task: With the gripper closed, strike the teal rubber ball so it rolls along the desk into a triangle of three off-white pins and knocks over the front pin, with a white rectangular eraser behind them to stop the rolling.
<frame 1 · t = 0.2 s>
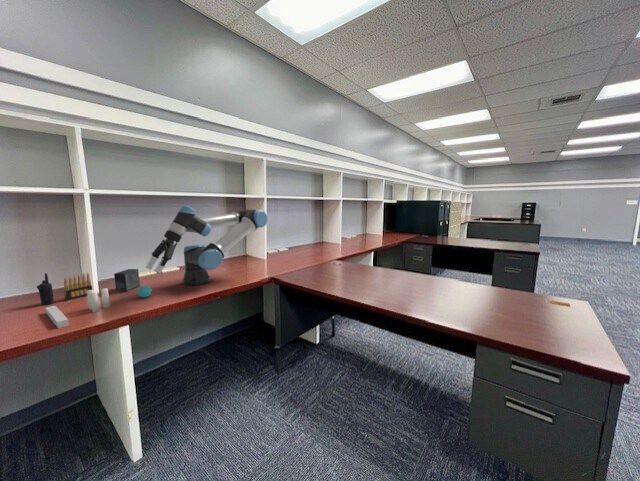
hand: (152, 270, 129), 15 cm above the table, tool tilted 35°, fingers open, 13 cm apart
two-way radio: (46, 304, 125), on the table
back right pin: (92, 308, 119), on the table
front pin: (106, 306, 121), on the table
ball: (144, 291, 134), on the table
white rectangular eraser: (56, 318, 108), on the table
back left pin: (95, 311, 116), on the table
small box: (128, 289, 148), on the table
ammunition clip: (79, 297, 134), on the table
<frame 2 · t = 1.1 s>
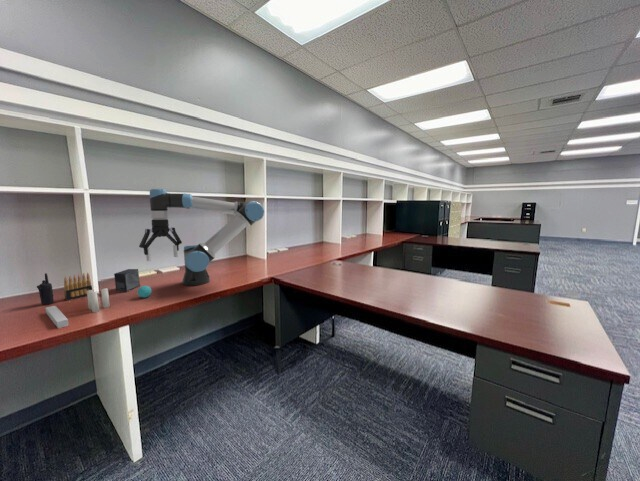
hand: (162, 258, 139), 19 cm above the table, tool pointing down, fingers open, 13 cm apart
nothing on the table moved.
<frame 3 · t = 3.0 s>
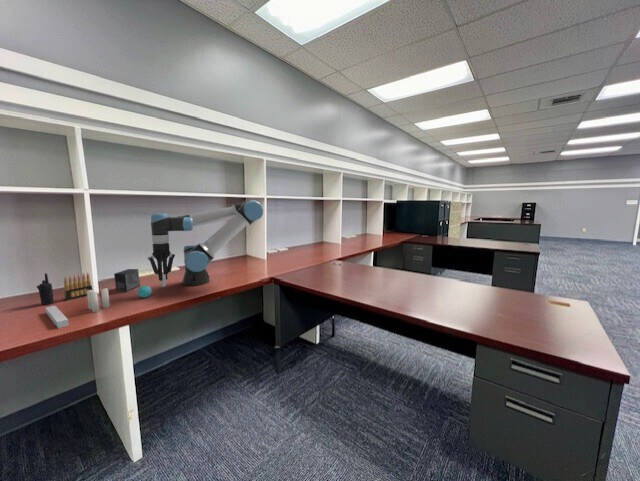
hand: (163, 285, 141), 4 cm above the table, tool pointing down, fingers closed
nothing on the table moved.
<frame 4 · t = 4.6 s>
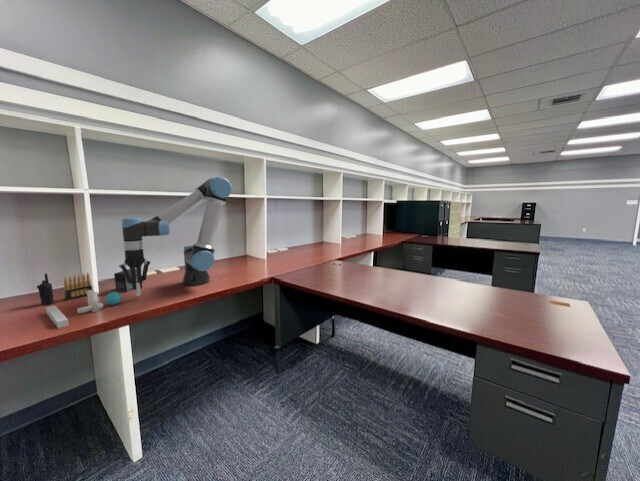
hand: (138, 295, 132), 2 cm above the table, tool pointing down, fingers closed
front pin: (102, 305, 120), point 1 cm above the table, tilted 90°
ball: (113, 298, 124), on the table
everything else where it was.
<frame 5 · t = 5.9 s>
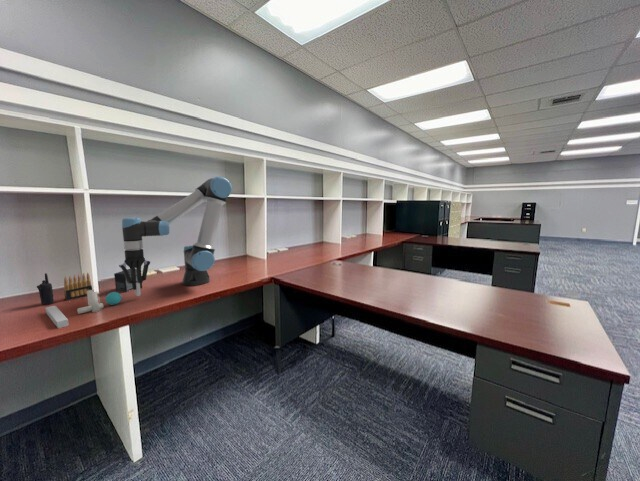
hand: (138, 295, 132), 2 cm above the table, tool pointing down, fingers closed
nothing on the table moved.
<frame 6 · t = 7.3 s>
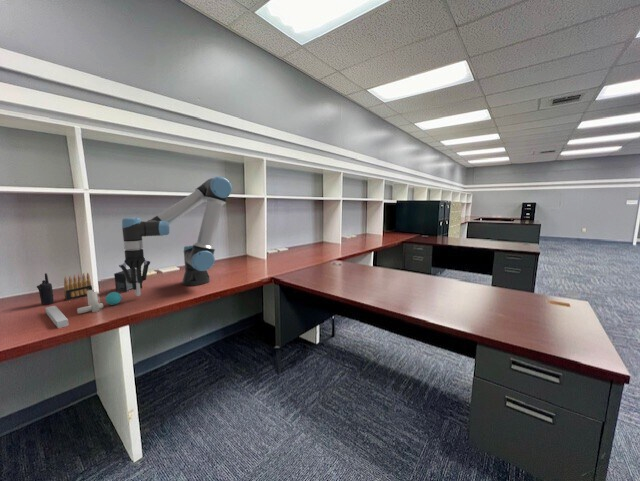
hand: (138, 295, 132), 2 cm above the table, tool pointing down, fingers closed
nothing on the table moved.
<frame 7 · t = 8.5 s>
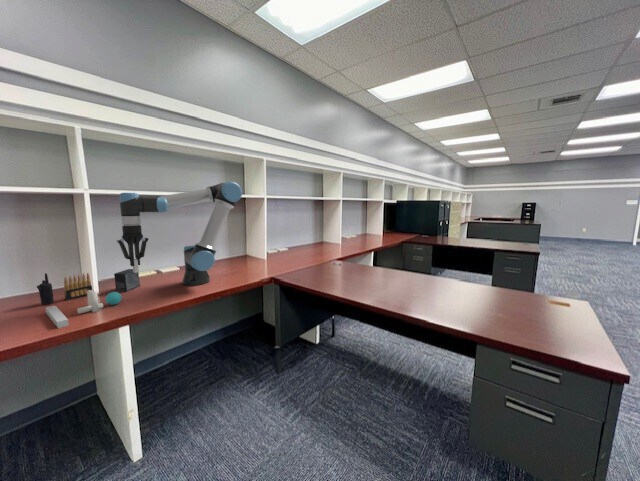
hand: (136, 272, 130), 14 cm above the table, tool pointing down, fingers closed
nothing on the table moved.
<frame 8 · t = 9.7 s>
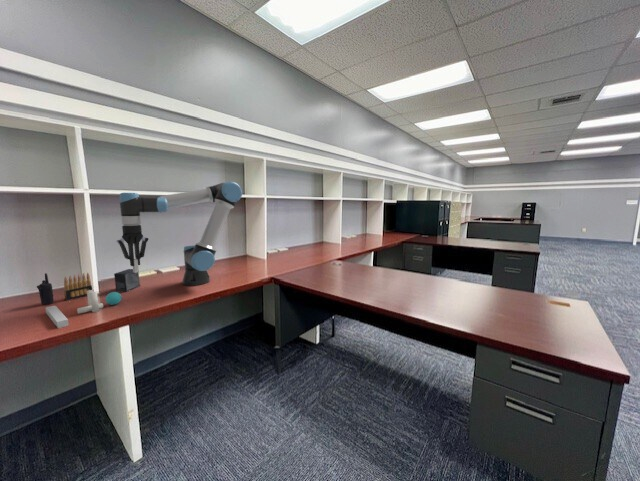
hand: (136, 272, 130), 14 cm above the table, tool pointing down, fingers closed
nothing on the table moved.
at the end: front pin tilted 90°; front pin never touched the robot; ball moved 12.8 cm from its start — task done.
